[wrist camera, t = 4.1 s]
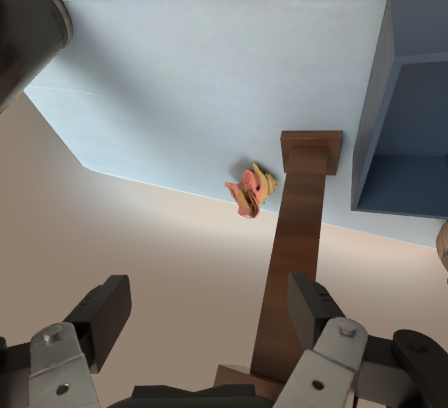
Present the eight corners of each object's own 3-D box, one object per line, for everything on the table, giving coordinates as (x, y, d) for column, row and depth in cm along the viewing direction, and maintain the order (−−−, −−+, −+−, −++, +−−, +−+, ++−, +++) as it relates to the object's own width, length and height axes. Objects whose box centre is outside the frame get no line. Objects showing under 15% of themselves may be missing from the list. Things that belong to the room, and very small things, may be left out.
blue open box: (389, -12, 21) (394, 57, 17) (582, -46, 17) (654, 33, 13) (352, 154, 38) (350, 210, 33) (447, 156, 34) (459, 220, 29)
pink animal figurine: (281, 158, 44) (289, 213, 45) (258, 160, 53) (264, 205, 55) (230, 168, 41) (239, 225, 43) (215, 168, 51) (223, 215, 53)
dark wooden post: (276, 117, 36) (204, 422, 20) (348, 115, 32) (329, 476, 17) (282, 165, 44) (234, 406, 29) (339, 168, 41) (321, 440, 25)
